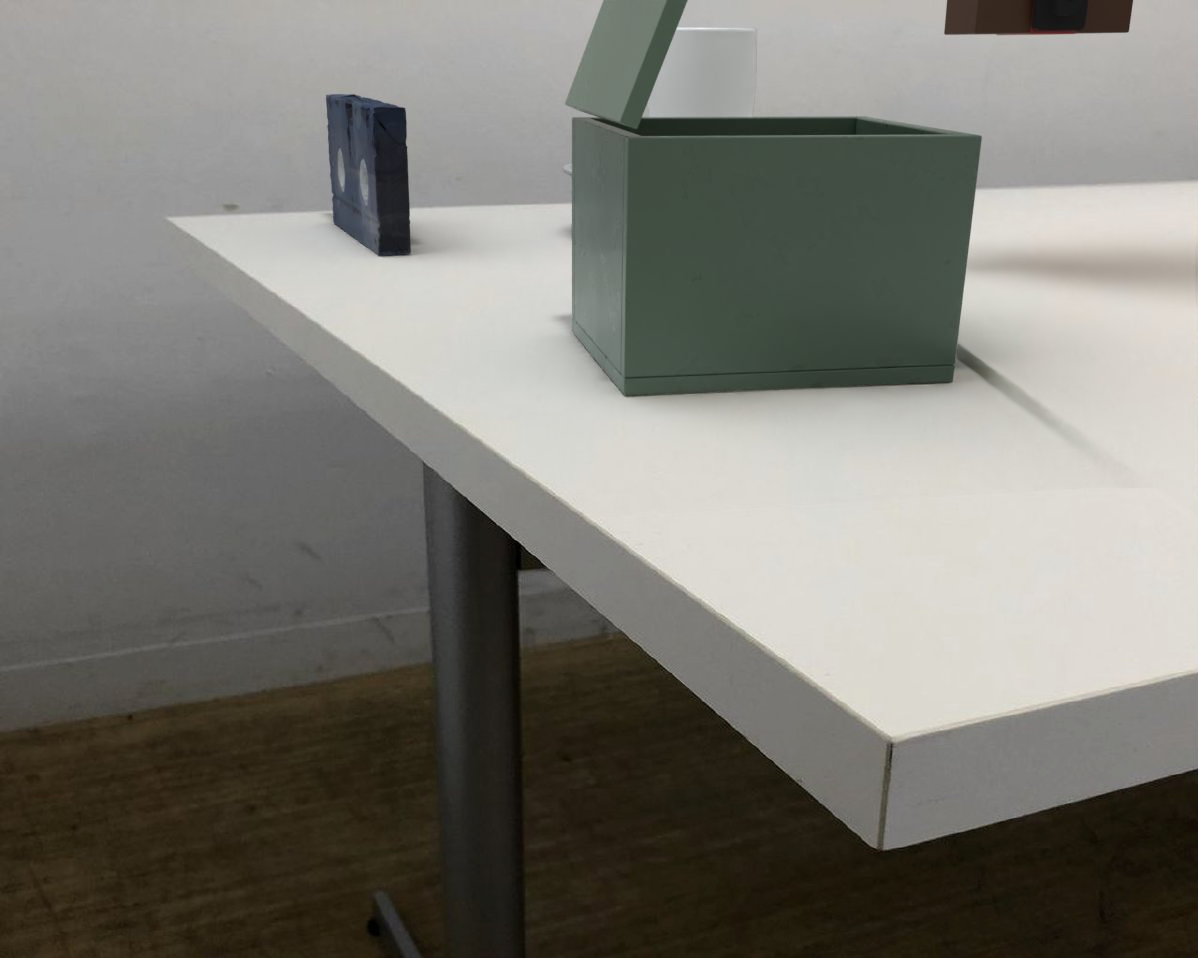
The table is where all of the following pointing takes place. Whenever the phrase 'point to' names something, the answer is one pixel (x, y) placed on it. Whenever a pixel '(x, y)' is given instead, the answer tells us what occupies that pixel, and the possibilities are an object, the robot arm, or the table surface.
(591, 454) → the table surface
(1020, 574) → the table surface
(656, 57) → the bin lid
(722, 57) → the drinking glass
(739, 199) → the bin
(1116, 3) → the chocolate bar
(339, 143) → the vhs cassette tape
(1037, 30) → the robot arm
